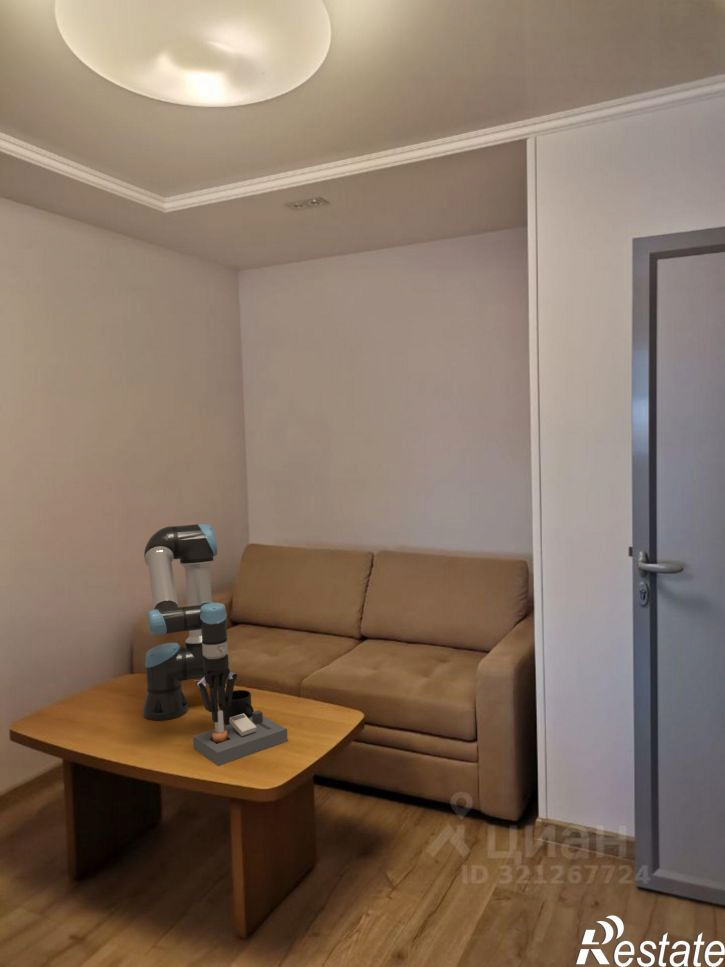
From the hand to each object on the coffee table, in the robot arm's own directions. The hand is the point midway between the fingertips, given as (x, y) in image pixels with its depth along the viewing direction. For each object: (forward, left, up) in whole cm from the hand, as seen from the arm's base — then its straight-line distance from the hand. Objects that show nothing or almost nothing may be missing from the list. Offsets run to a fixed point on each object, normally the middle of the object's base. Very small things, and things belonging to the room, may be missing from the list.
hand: (219, 731), depth 222 cm
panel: (0, +7, -7) cm, 9 cm away
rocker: (0, +8, 0) cm, 8 cm away
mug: (-16, +16, -7) cm, 24 cm away
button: (0, 0, -6) cm, 6 cm away
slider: (-3, +15, -2) cm, 16 cm away
